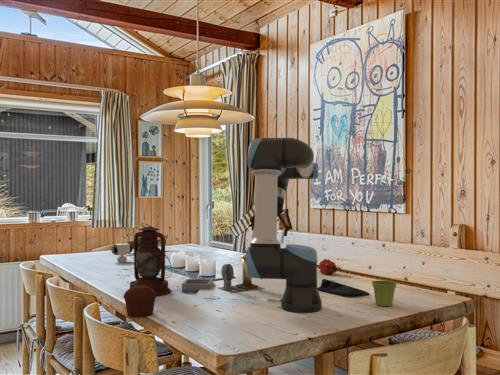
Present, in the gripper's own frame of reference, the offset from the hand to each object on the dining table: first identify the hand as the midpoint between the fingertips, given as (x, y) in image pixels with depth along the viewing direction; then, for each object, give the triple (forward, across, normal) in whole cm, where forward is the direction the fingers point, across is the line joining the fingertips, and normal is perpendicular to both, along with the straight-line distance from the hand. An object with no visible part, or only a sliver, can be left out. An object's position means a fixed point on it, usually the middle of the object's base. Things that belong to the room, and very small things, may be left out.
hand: (267, 239), depth 225 cm
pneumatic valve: (+9, +96, -60) cm, 113 cm away
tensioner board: (+27, +5, +4) cm, 27 cm away
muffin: (+50, +30, +42) cm, 72 cm away
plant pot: (+24, -54, +16) cm, 61 cm away
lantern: (+36, +43, +11) cm, 58 cm away
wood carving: (-11, +101, -100) cm, 143 cm away
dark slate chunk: (+17, -37, -3) cm, 41 cm away
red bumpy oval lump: (-1, -28, -41) cm, 49 cm away
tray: (+29, +25, +3) cm, 38 cm away
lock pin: (+24, +4, +3) cm, 24 cm away
